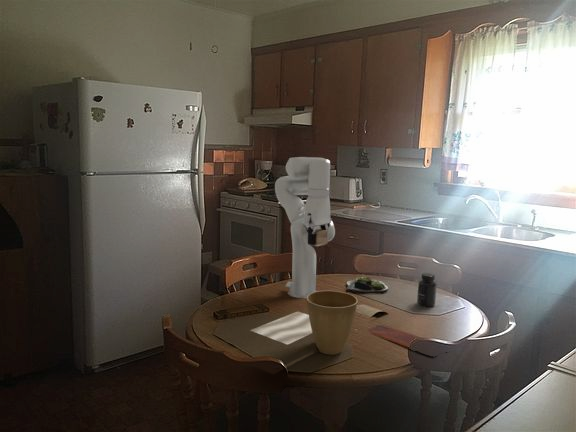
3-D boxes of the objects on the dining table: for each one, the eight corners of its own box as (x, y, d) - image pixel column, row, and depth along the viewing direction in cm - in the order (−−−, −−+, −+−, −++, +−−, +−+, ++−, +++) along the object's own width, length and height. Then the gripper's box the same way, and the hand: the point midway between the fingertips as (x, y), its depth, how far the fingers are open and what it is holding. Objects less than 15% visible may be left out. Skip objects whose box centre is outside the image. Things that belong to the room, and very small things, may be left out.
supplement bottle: (415, 305, 180) (417, 275, 178) (418, 300, 186) (419, 271, 184) (434, 308, 177) (436, 277, 176) (436, 303, 184) (438, 273, 182)
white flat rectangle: (249, 333, 151) (249, 330, 150) (297, 314, 168) (297, 311, 168) (287, 348, 140) (287, 344, 140) (334, 326, 158) (334, 322, 158)
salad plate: (340, 281, 212) (341, 271, 212) (379, 281, 213) (380, 271, 213) (348, 294, 193) (349, 284, 193) (391, 294, 194) (391, 283, 194)
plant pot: (297, 354, 136) (299, 301, 134) (315, 336, 149) (317, 287, 147) (347, 365, 130) (349, 309, 128) (361, 344, 144) (363, 294, 141)
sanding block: (308, 244, 168) (308, 231, 168) (318, 242, 173) (318, 228, 172) (317, 246, 166) (317, 232, 165) (327, 243, 170) (327, 230, 170)
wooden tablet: (451, 351, 141) (452, 346, 141) (433, 360, 135) (433, 355, 135) (381, 325, 161) (382, 320, 161) (362, 332, 155) (362, 327, 155)
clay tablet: (366, 324, 162) (366, 316, 162) (343, 316, 169) (344, 309, 169) (390, 314, 172) (391, 307, 171) (368, 307, 179) (368, 300, 179)
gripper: (324, 191, 176) (323, 238, 178) (295, 194, 163) (294, 245, 165) (341, 192, 171) (339, 241, 173) (312, 196, 158) (310, 248, 161)
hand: (317, 242), depth 169 cm, fingers closed on sanding block, 6 cm apart
